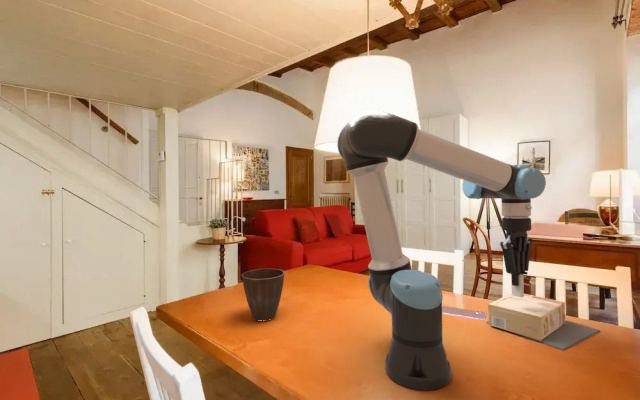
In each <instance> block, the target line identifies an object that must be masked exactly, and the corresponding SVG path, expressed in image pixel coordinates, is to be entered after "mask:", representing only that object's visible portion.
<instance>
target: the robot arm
mask: <svg viewBox="0 0 640 400" xmlns="http://www.w3.org/2000/svg"><path fill="white" fill-rule="evenodd" d="M336 142H337V145H336V147H337V151H338V154H339V155H340V157H341V158H342V160H343V161H344V164H345V165H344V166H345V169H346V172H347V173H348V174H349V175H351V176H352V177H353V179H354V183H355V188H356V193H357V197H358V202H359V207H360V211H361V216H362V221H363V224H364V229H365V232H366V238H367V243H368V247H369V251H370V257H371V260H370V262H369V263H368V265H367V267H368V272H369V277H368V283H367V284H368V288H369V291H370V293H371V296H372V297H373V299H374V300H375V302H377V303H378V304H379V305H381V306H382V307H383V309H385V310H386V311H387V312H388V313H389V314H390V315H391V340H390V344H389V348H388V353H387V354H386V357H385V364H384V365H385V372H386V374H387V376H388V377H389V379H391V380H392V382H395V383H397V384H398V385H400V386H402V387H405V388H409V389H414V390H416V391H417V390H418V391H434V390H439V389H442V388H444V387H446V386H447V385H448V384H449V383H450V382H451V381H452V367H451V364H450V361H449V360H448V357H447V353H446V349H445V347H444V343H443V342H444V341H443V314H442V306H443V291H442V285H441V281H440V280H439V279H438V278H437V277H436V276H435V275H433V274H431V273H429V272H427V271H422V270H419V269H413V268H412V265H411V260H410V257H408V256H406V255H405V254H403V249H402V246H401V245H402V244H401V241H400V236H399V232H398V226H397V221H396V217H395V214H394V207H393V204H392V199H391V195H390V191H389V186H388V180H387V177H386V172H385V169H386V168H387V166H388V164H389V159H393V160H395V161H398V162H403V161H405V160H407V161H410V162H413V163H416V164H419V165H422V166H424V167H427V168H430V169H433V170H434V171H438V172H440V173H442V174H445V175H450V176H452V177H454V178H457V179H460V180H462V185H461V186H462V192H463V194H464V196H466V197H465V198H467V199H472V200H473V199H476V200H480V199H501V202H500V203H501V216H502V218H501V230H503V231H505V240H504V241H500V244H499V245H500V247H501V250H502V255H503V260H504V267H505V271H506V273H507V274H509V275H510V276H511V294H512V295H513V296H517V297H524V294H525V293H524V292H525V290H524V289H525V286H524V281H525V280H524V279H525V278H524V275H527V276H528V273H529V272H528V271H529V268H530V267H529V265H530V257H531V248H532V244H533V241H534V240H533V238H529V237H528V233H527V232H529V231H531V230H532V219H531V216H532V209H533V206H532V204H531V199H536V198H538V197H540V196H541V195H543V192H544V191H545V188H546V184H547V182H546V181H547V180H546V178H545V175H544V173H543V172H542V171H541V170H540V169H538V168H535V167H530V166H529V165H527V164H509V163H506V162H504V161H501V160H499V159H495V158H493V157H491V156H488V155H486V154H483V153H482V152H478V151H476V150H473V149H470V148H468V147H465V146H463V145H461V144H458V143H456V142H453V141H450V140H448V139H445V138H442V137H440V136H437V135H435V134H432V133H430V132H427V131H425V130H422V129H420V128H419V126H418V123H416V122H414V121H412V120H409V119H406V118H403V117H401V116H398V115H395V114H392V113H389V112H385V111H381V110H377V109H376V110H375V109H372V110H366V111H362V112H361V113H358V114H357V115H356V116H355V117H354V118H353V119H352V120H351V121H349V122H348V123H346V124H345V125H344V126H343V128H341V131H340V132H339V134H338V138H337V141H336Z"/></svg>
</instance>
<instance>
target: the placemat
mask: <svg viewBox="0 0 640 400" xmlns="http://www.w3.org/2000/svg"><path fill="white" fill-rule="evenodd" d="M486 324H487V325H489V320H487V321H486ZM600 330H601V329H598V328H594V327H591V326H587V325H583V324H580V323H576V322H574V321H570V320H566V319H565V324H563V325H562V326H560V327H559V328H558V329H556V330H555V331H553V332H552V333H551V334H549V335H548V336H547V337H545V338H544V339H542V340H541V341H540V340H537V339H533V338H530V337H527V336H524V335H520V334H517V333H514V332H510V331H508V332H510V333H513V334H514V335H515V334H516V335H518V336H521V337H524V338H527V339H529V340H531V341H532V340H533V341H535V342H538V343H541V344H544V345H547V346H550V347H553V348H554V349H558V350H561V351H564V350H565V351H566V350H567V349H569V348H571V347H573V346H575V345H577V344H579V343H581V342H583V341H585V340H586V339H588V338H590V337H592V336H595V335H596V334H598V333H600V332H601V331H600Z"/></svg>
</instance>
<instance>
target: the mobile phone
mask: <svg viewBox="0 0 640 400" xmlns="http://www.w3.org/2000/svg"><path fill="white" fill-rule="evenodd" d="M442 315H446V316H447V315H448V316H452V317H453V316H454V317H459V318H466V319H471V320H477V321H485V320H486V317H487V313H486V311H481V310H473V309H467V308H460V307H451V306H445V305H444V306H443V305H442Z"/></svg>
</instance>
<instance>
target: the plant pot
mask: <svg viewBox="0 0 640 400" xmlns="http://www.w3.org/2000/svg"><path fill="white" fill-rule="evenodd" d="M241 280H242V286H243V290H244V294H245V298H246V302H247V304H248V308H249V310H250V313H251V316H252V318H253V320H254V319H255V320H262V321H263V320H269V319H272V318H274V317H275V318H276V315H277V312H278V308H279V305H280V302H281V298H282V292H283V286H284V280H285V271H284V270H282V269H278V268H257V269H252V270H248V271H244V272H243V273H242V274H241ZM275 318H274V319H275ZM255 320H254V321H255ZM272 320H273V319H272Z"/></svg>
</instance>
